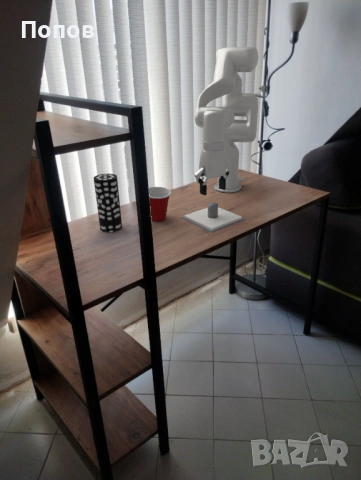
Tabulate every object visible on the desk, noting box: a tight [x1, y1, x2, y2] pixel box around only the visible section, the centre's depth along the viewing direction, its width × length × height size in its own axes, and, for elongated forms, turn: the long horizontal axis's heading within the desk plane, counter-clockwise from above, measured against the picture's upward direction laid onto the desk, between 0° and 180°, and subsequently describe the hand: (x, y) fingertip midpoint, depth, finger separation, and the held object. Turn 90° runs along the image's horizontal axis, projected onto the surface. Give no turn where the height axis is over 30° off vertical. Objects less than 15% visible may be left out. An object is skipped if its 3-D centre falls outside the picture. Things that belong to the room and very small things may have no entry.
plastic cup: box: [148, 186, 172, 223], centre depth 150 cm, size 11×11×12 cm
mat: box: [180, 216, 246, 233], centre depth 151 cm, size 18×18×1 cm
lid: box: [183, 201, 243, 231], centre depth 150 cm, size 16×16×6 cm
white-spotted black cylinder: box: [93, 173, 123, 233], centre depth 142 cm, size 8×8×20 cm
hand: (212, 191), depth 146 cm, fingers open, 9 cm apart
